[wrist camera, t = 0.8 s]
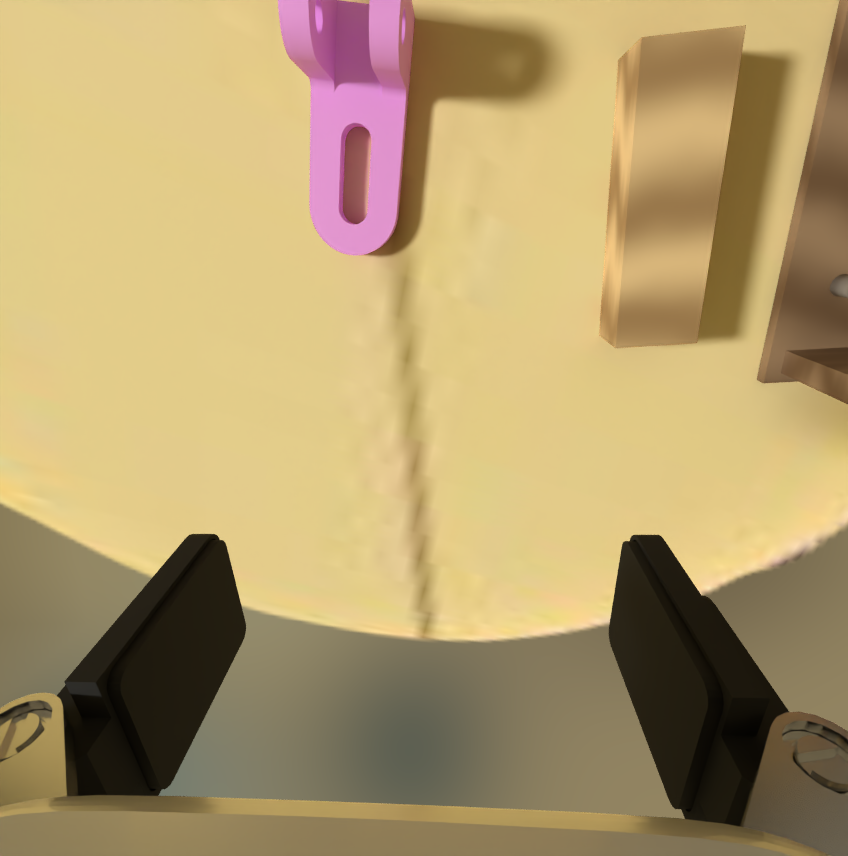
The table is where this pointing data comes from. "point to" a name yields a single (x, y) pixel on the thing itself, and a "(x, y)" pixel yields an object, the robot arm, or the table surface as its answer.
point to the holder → (817, 248)
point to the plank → (666, 183)
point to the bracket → (353, 106)
